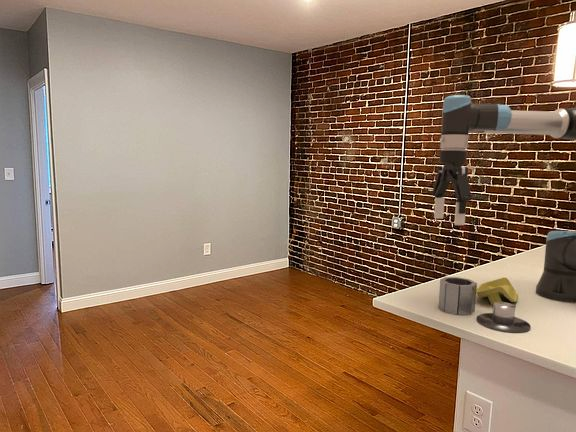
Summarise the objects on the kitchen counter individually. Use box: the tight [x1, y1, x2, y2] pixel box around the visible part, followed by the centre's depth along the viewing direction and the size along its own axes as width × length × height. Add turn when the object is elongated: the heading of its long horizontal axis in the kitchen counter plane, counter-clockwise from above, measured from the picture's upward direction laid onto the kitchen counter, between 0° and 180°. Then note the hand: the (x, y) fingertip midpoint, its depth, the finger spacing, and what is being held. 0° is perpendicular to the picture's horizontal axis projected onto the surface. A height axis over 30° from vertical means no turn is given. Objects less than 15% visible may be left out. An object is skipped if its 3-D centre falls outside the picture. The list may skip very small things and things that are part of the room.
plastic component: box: [476, 277, 519, 306], centre depth 146 cm, size 20×7×10 cm
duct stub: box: [475, 301, 532, 334], centre depth 125 cm, size 14×14×6 cm
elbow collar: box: [437, 276, 478, 316], centre depth 136 cm, size 10×10×9 cm
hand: (448, 221), depth 131 cm, fingers open, 13 cm apart
